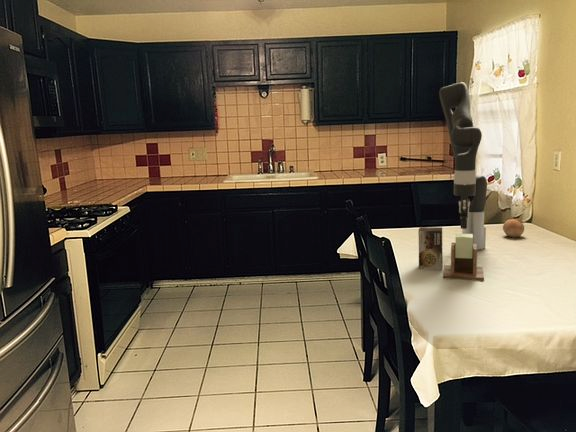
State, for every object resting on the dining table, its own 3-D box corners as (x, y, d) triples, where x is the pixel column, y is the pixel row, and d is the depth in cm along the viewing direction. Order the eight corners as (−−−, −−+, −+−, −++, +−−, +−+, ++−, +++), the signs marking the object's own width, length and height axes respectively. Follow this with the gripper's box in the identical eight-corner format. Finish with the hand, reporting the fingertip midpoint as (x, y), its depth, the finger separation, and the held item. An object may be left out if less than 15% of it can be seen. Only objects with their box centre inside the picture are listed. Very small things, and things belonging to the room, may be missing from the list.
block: (455, 253, 184) (455, 233, 183) (471, 254, 182) (472, 233, 181) (455, 257, 179) (455, 237, 177) (472, 258, 177) (472, 237, 175)
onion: (519, 241, 236) (529, 223, 234) (517, 240, 228) (527, 222, 226) (500, 233, 240) (510, 215, 239) (497, 232, 233) (507, 213, 231)
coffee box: (442, 265, 193) (443, 227, 190) (442, 270, 187) (442, 230, 184) (419, 264, 196) (419, 226, 193) (418, 269, 190) (418, 229, 187)
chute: (444, 267, 190) (444, 240, 188) (482, 269, 186) (483, 242, 184) (443, 278, 178) (443, 249, 176) (484, 280, 173) (484, 251, 171)
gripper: (454, 180, 183) (453, 224, 186) (453, 184, 171) (452, 231, 174) (475, 180, 180) (473, 225, 183) (476, 184, 168) (474, 232, 171)
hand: (463, 228), depth 178 cm, fingers closed
